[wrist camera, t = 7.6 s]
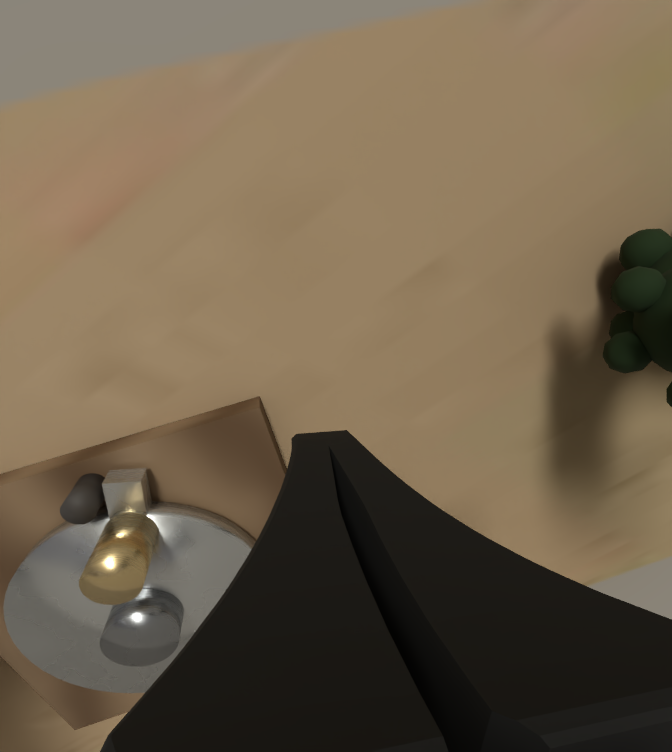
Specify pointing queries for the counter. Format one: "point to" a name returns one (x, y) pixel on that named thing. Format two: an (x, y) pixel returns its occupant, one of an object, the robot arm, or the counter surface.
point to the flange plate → (83, 620)
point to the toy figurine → (643, 305)
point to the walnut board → (167, 484)
